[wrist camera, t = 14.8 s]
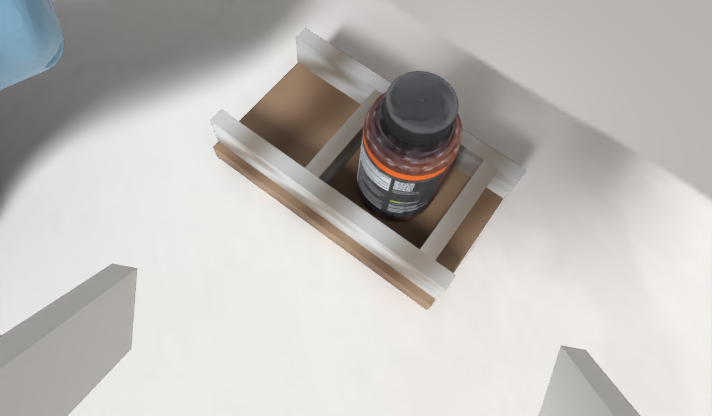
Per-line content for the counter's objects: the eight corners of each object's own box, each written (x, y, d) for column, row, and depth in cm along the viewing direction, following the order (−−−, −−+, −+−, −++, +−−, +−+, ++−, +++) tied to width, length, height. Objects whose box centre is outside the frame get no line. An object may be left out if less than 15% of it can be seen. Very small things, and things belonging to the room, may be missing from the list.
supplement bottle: (413, 142, 37) (449, 43, 27) (447, 208, 35) (499, 128, 25) (343, 166, 36) (351, 71, 26) (373, 235, 34) (396, 163, 24)
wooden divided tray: (217, 156, 38) (204, 126, 33) (311, 60, 42) (310, 23, 37) (426, 309, 34) (440, 297, 30) (507, 189, 38) (530, 163, 34)
